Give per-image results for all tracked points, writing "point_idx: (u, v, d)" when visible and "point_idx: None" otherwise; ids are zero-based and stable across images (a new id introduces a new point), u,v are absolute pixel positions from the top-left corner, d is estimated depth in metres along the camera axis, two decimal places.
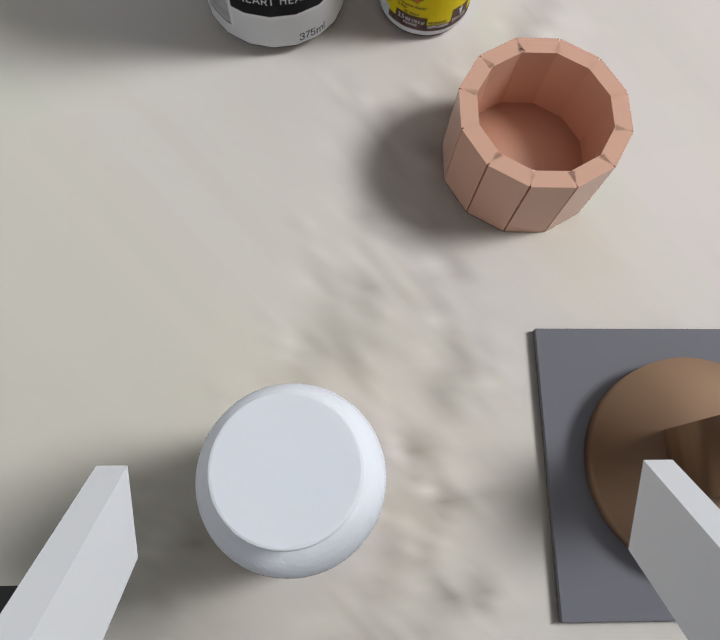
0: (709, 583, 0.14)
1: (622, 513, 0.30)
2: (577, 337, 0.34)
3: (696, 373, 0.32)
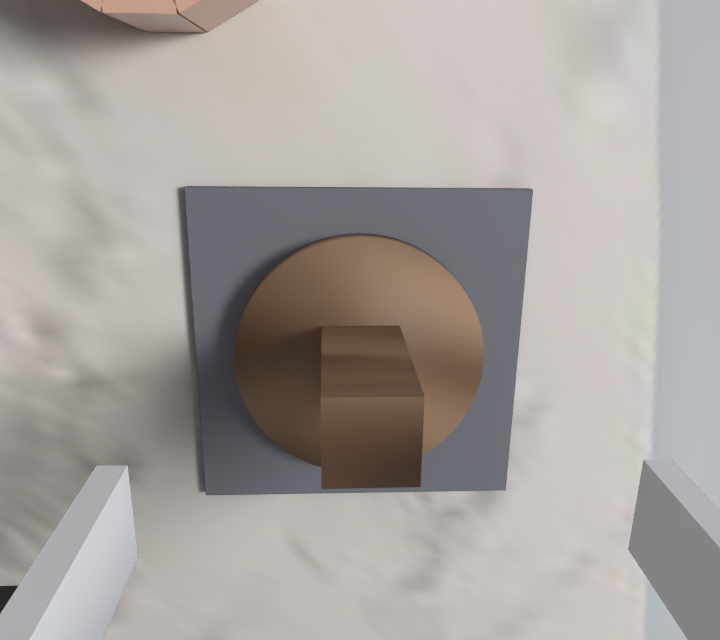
0: (710, 583, 0.14)
1: (263, 412, 0.28)
2: (240, 199, 0.26)
3: (374, 259, 0.26)
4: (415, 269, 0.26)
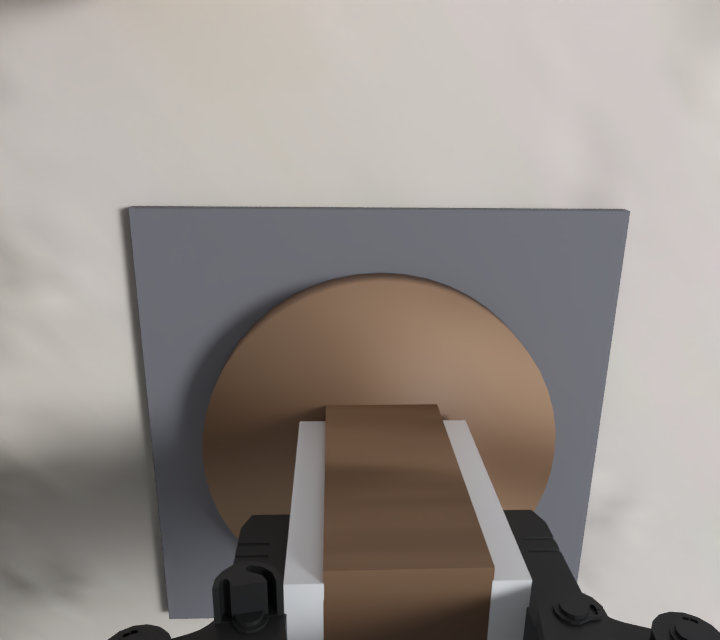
0: None
1: (243, 521, 0.20)
2: (209, 225, 0.18)
3: (401, 313, 0.18)
4: (461, 326, 0.18)
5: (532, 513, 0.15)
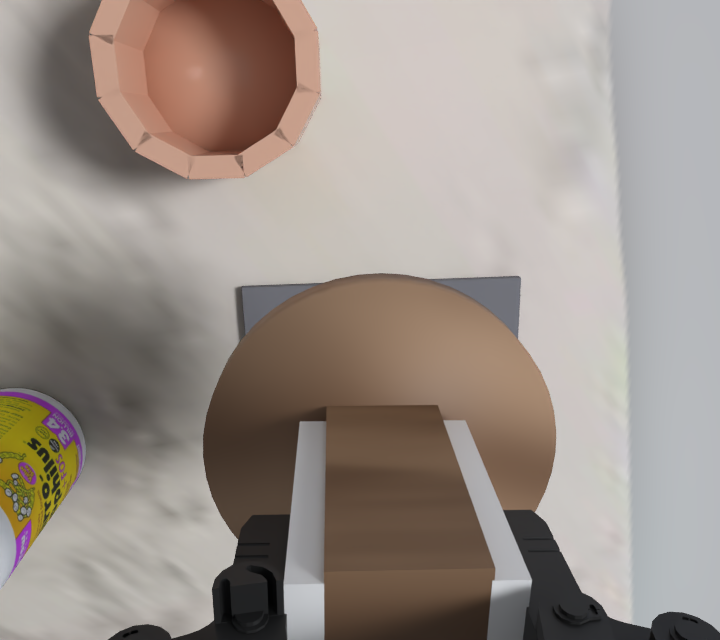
0: None
1: (244, 522, 0.20)
2: (286, 295, 0.33)
3: (402, 314, 0.18)
4: (461, 327, 0.18)
5: (532, 512, 0.15)
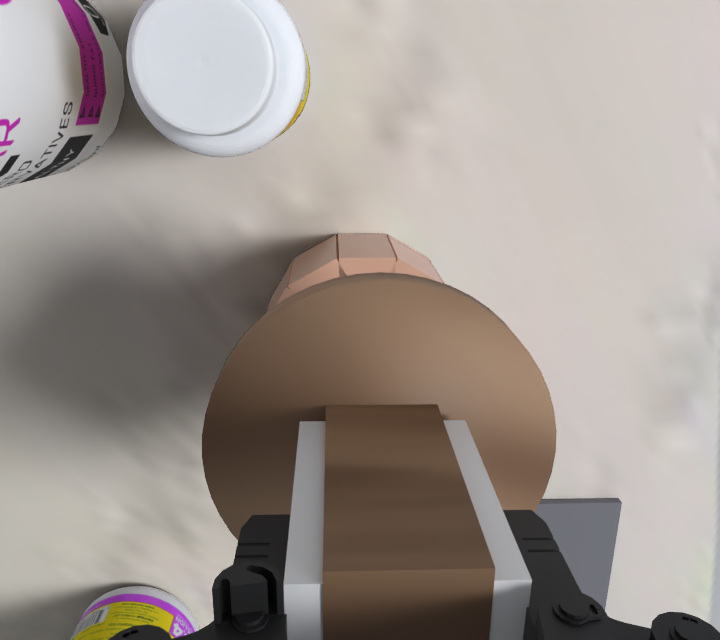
0: None
1: (243, 522, 0.20)
2: None
3: (401, 312, 0.18)
4: (461, 326, 0.18)
5: (533, 513, 0.15)
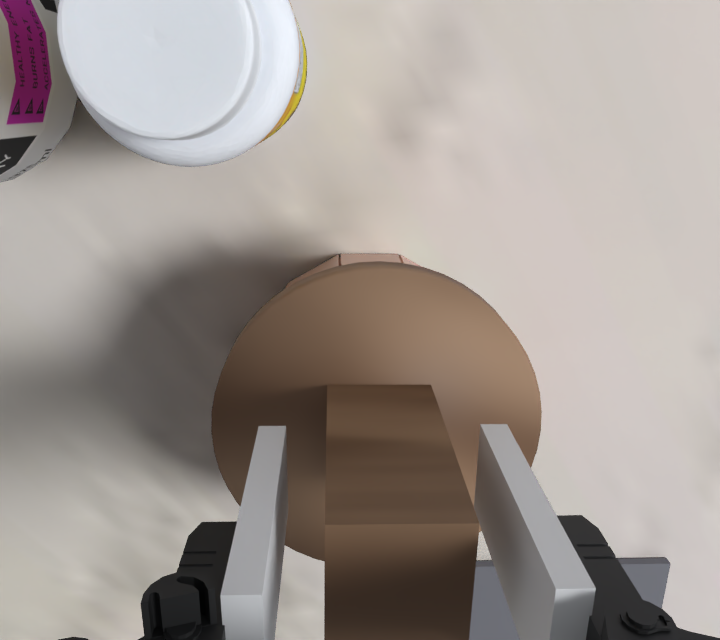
0: (508, 527, 0.15)
1: None
2: None
3: (398, 298, 0.19)
4: (453, 311, 0.19)
5: (583, 518, 0.15)
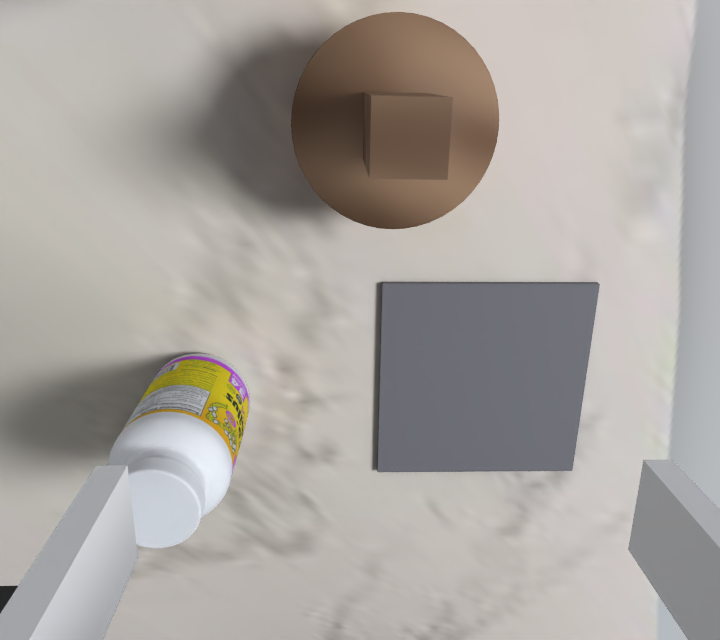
0: (710, 584, 0.14)
1: (313, 171, 0.33)
2: (416, 290, 0.42)
3: (409, 31, 0.31)
4: (443, 41, 0.31)
5: None
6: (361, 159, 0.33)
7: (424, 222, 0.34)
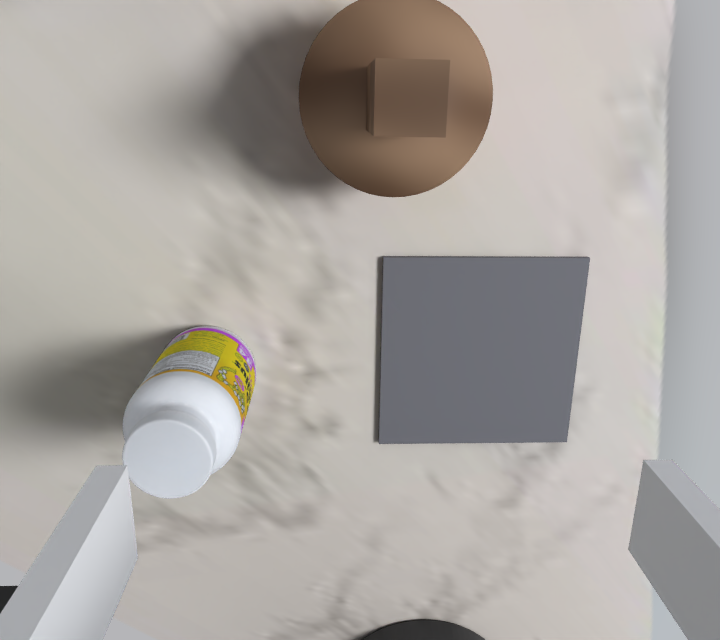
0: (710, 583, 0.14)
1: (319, 141, 0.35)
2: (415, 264, 0.44)
3: (408, 10, 0.34)
4: (440, 19, 0.34)
5: None
6: (364, 130, 0.35)
7: (423, 190, 0.37)
